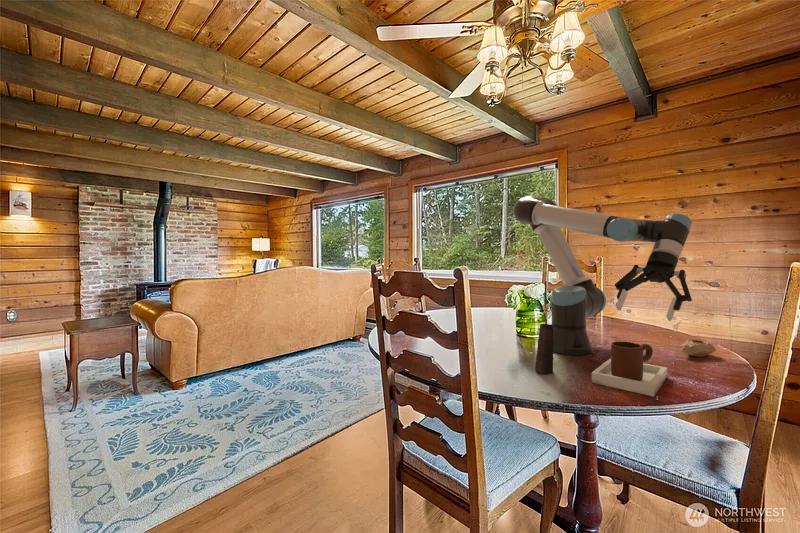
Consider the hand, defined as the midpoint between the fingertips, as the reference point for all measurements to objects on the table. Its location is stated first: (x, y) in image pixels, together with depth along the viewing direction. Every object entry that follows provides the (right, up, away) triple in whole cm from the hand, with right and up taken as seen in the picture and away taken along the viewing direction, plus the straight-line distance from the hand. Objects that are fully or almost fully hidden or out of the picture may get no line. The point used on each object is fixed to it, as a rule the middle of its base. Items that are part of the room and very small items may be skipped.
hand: (642, 313), depth 107 cm
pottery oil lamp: (+26, -16, +12) cm, 34 cm away
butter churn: (-30, -18, -1) cm, 35 cm away
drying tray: (-9, -18, -8) cm, 22 cm away
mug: (-8, -17, -9) cm, 21 cm away
